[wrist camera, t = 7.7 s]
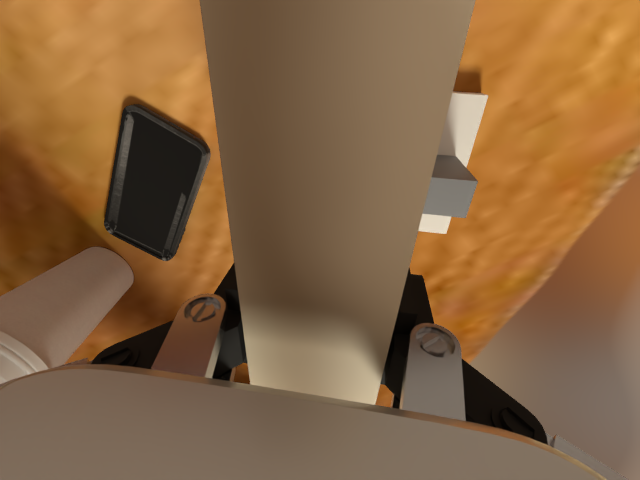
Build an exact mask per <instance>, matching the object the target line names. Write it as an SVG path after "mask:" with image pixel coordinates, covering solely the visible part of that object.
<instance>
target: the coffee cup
mask: <svg viewBox="0 0 640 480" xmlns="http://www.w3.org/2000/svg"><path fill="white" fill-rule="evenodd" d="M133 281H134V275H133V272H132V270H131V268H130V266H129V265H128V263H127V262H126V261H125V260H124V259H123V258H122V257H120V256H119V255H118V254H116V253H115V252H113V251H111V250H108V249H106V248H102V247H90V248H88V249H86V250H84V251H82V252H80V253H79V254H77V255H75V256H73V257H71V258H69V259H68V260H66V261H64V262H62V263H60V264H59V265H57V266H55V267H53V268H51V269H50V270H48V271H46V272H44V273H42V274H41V275H39V276H37V277H35V278H33V279H32V280H30V281H28V282H26V283H24V284H23V285H21V286H19V287H17V288H15V289H13V290H12V291H10V292H8V293H6V294H4V295H3V296H1V297H0V384H2V383H5V382H7V381H10V380H12V379H16V378H19V377H22V376H25V375H28V374H31V373H35V372H39V371H43V370H47V369H51V368H54V367H58V366H61V365H64V363H65V362H66V361H67V360H68V359H69V358H70V356H71V355H72V354H73V353H74V352H75V351H76V349H77V348H78V347H79V346H80V345H81V343H82V342H83V341H84V340H85V339H86V338H87V336H88V335H89V334H90V333H91V332H92V331H93V330H94V328H95V327H96V326H97V325H98V324H99V323H100V321H101V320H102V319H103V318H104V317H105V316H106V314H107V313H108V312H109V311H110V310H111V309H112V307H113V306H114V305H115V304H116V303H117V302H118V300H119V299H120V298H121V297H122V296H123V295H124V294H125V292H126V291H127V290H128V289H129V288H130V287H131V285H132V284H133Z"/></svg>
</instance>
